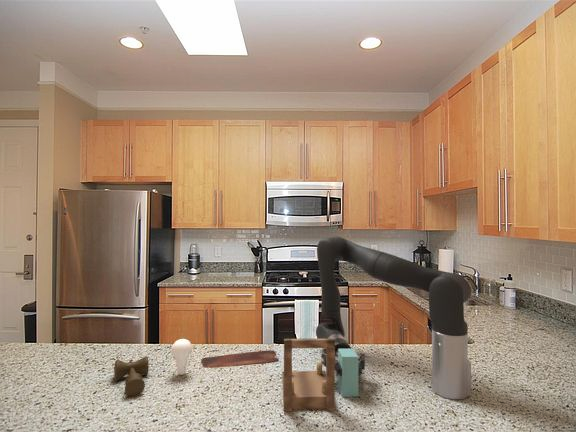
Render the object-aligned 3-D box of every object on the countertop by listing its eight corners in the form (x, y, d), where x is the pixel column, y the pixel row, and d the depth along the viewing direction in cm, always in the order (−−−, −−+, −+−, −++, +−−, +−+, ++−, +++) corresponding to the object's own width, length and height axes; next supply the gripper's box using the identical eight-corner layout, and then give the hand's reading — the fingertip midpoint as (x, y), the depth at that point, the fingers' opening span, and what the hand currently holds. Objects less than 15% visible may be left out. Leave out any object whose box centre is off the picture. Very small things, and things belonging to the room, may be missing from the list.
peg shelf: (325, 380, 103) (325, 321, 103) (334, 410, 87) (334, 340, 87) (282, 381, 102) (282, 321, 103) (283, 411, 86) (284, 340, 86)
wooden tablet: (200, 366, 111) (201, 351, 120) (200, 373, 111) (201, 357, 120) (280, 359, 117) (274, 345, 126) (279, 366, 117) (274, 351, 127)
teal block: (353, 386, 100) (353, 348, 100) (358, 396, 94) (358, 356, 94) (338, 386, 100) (338, 348, 100) (342, 397, 94) (342, 356, 94)
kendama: (115, 403, 91) (113, 371, 109) (153, 395, 96) (145, 366, 113) (116, 380, 91) (114, 352, 109) (154, 374, 96) (146, 348, 113)
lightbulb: (185, 368, 111) (186, 334, 111) (195, 374, 107) (195, 339, 107) (167, 374, 107) (168, 339, 107) (177, 381, 102) (177, 344, 103)
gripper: (316, 337, 111) (324, 359, 94) (360, 337, 111) (375, 358, 94) (316, 361, 111) (324, 386, 94) (360, 360, 111) (375, 385, 94)
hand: (350, 372), depth 94 cm, fingers closed on teal block, 4 cm apart
